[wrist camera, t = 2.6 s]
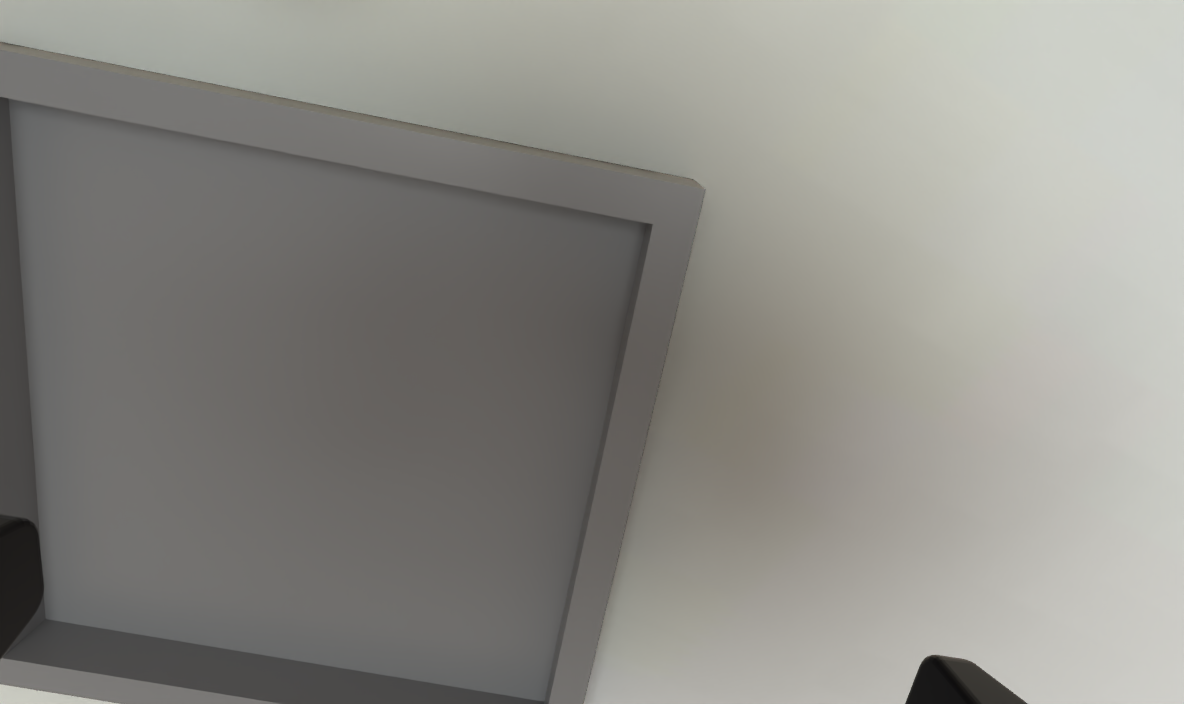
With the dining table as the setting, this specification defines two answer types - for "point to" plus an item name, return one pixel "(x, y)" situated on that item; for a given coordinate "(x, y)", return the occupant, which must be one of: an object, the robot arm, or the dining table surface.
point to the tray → (316, 393)
